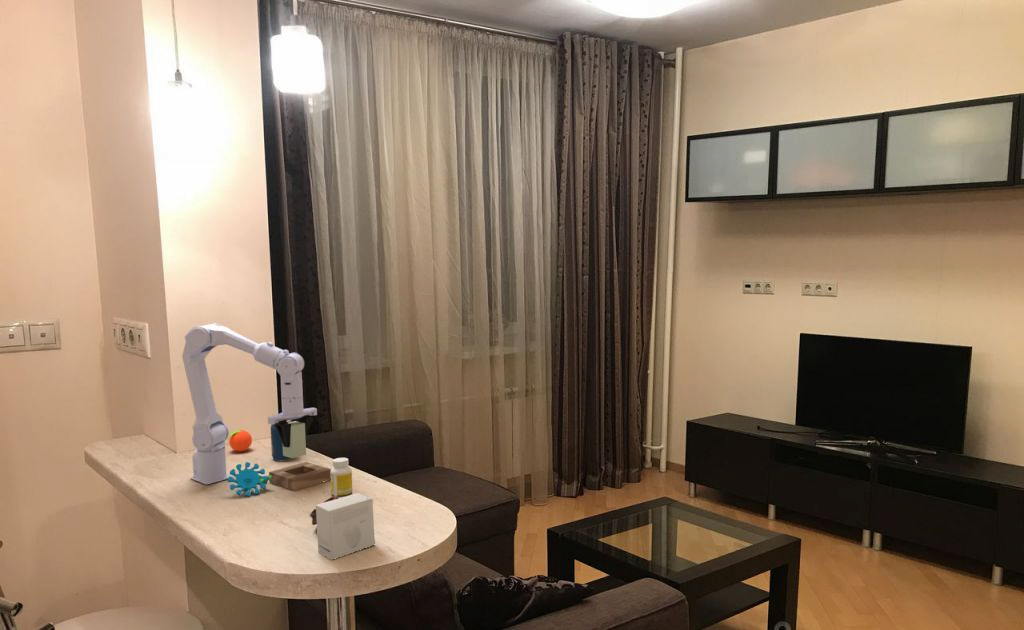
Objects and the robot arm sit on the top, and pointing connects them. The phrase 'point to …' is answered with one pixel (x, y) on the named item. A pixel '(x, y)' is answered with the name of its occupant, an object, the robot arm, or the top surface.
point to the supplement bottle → (341, 478)
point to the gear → (248, 479)
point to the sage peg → (296, 441)
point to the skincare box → (345, 525)
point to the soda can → (277, 445)
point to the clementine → (240, 440)
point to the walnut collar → (299, 476)
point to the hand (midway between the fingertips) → (294, 444)
